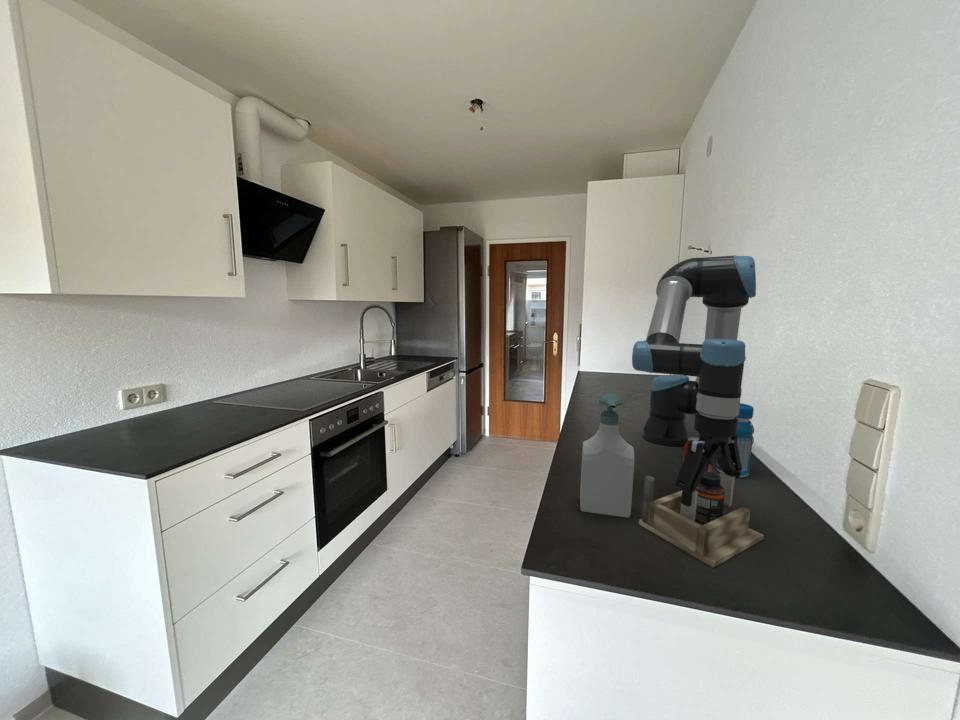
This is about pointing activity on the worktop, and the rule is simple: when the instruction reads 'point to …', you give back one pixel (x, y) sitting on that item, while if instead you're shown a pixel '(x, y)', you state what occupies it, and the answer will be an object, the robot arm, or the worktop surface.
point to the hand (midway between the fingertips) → (706, 510)
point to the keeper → (697, 528)
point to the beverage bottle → (743, 438)
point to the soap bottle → (607, 467)
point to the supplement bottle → (709, 498)
